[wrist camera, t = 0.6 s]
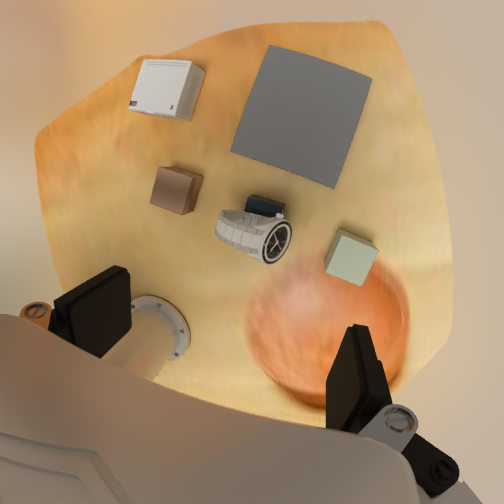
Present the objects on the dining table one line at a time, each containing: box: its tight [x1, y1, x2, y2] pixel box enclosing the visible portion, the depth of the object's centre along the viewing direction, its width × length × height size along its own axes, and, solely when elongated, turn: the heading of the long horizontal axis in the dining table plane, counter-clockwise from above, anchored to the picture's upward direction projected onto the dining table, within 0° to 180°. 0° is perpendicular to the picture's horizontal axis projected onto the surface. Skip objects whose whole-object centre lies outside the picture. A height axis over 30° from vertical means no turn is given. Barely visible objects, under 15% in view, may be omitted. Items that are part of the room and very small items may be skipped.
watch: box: [215, 195, 292, 265], centre depth 32 cm, size 6×8×11 cm
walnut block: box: [150, 167, 203, 215], centre depth 36 cm, size 5×5×4 cm
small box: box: [128, 59, 206, 122], centre depth 32 cm, size 8×8×5 cm
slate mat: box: [230, 45, 372, 189], centre depth 32 cm, size 16×14×1 cm
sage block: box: [324, 229, 379, 286], centre depth 34 cm, size 5×5×4 cm
